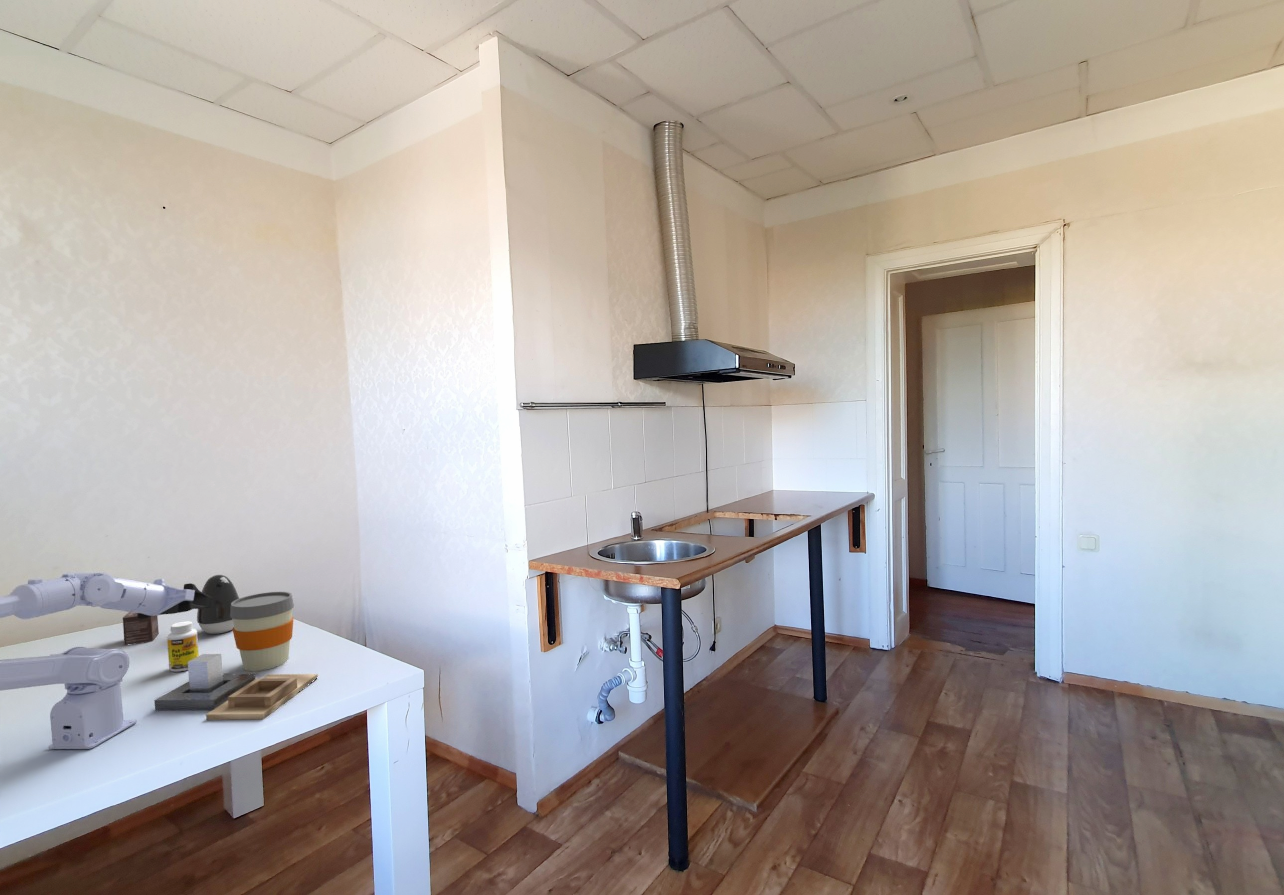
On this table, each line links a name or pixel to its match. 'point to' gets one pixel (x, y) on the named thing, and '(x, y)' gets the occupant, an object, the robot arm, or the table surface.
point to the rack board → (261, 697)
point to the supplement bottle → (182, 645)
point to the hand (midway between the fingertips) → (194, 605)
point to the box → (139, 628)
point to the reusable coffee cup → (263, 629)
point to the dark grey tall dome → (217, 605)
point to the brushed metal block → (205, 673)
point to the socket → (203, 695)
